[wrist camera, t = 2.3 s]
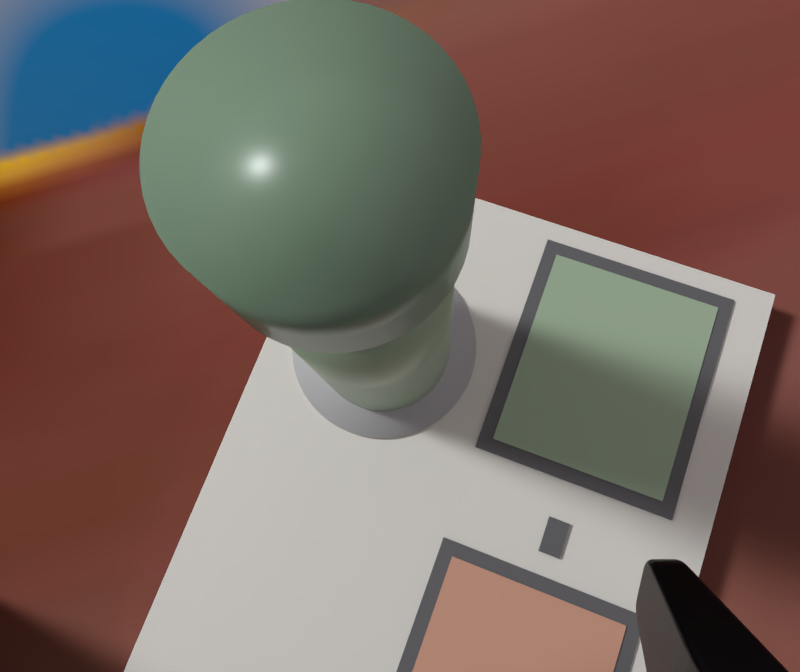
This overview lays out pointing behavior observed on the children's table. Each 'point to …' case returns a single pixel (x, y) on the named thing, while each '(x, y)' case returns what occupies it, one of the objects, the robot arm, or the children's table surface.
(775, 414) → the children's table surface
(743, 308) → the white flat rectangular board
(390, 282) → the green joystick knob
